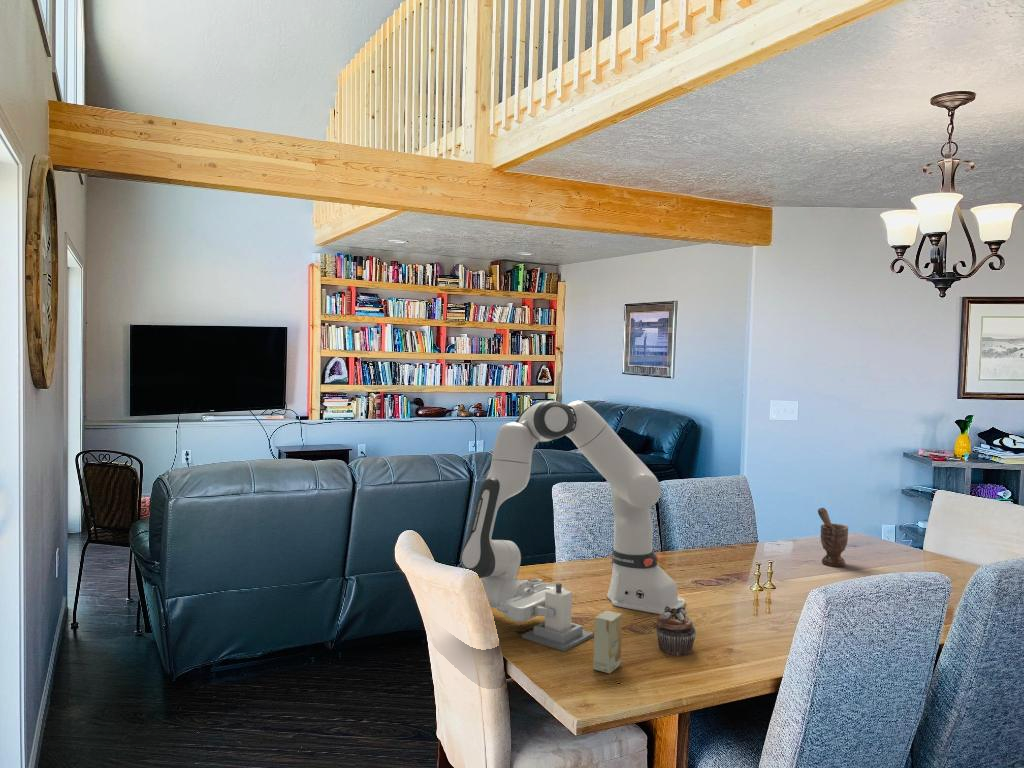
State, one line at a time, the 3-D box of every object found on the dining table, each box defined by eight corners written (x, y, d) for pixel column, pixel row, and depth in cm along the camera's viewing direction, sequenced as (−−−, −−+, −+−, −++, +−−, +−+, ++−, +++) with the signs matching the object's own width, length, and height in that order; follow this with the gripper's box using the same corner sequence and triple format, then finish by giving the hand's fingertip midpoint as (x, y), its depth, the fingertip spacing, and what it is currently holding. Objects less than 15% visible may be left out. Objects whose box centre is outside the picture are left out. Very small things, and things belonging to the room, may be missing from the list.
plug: (571, 630, 194) (572, 584, 193) (560, 635, 191) (561, 588, 190) (555, 625, 197) (556, 579, 197) (544, 630, 194) (545, 584, 193)
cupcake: (658, 656, 183) (659, 615, 183) (653, 640, 193) (654, 601, 192) (699, 657, 183) (700, 616, 182) (691, 641, 192) (692, 602, 192)
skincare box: (609, 674, 173) (611, 621, 172) (592, 669, 175) (593, 617, 174) (621, 664, 178) (622, 612, 178) (604, 660, 181) (605, 609, 180)
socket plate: (593, 636, 195) (594, 625, 195) (564, 651, 185) (564, 640, 185) (552, 623, 203) (552, 612, 203) (522, 637, 193) (522, 626, 193)
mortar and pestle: (838, 571, 253) (840, 511, 251) (812, 566, 258) (814, 507, 257) (850, 564, 261) (852, 506, 260) (824, 558, 267) (826, 502, 266)
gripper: (492, 595, 194) (536, 608, 185) (541, 576, 209) (584, 588, 201) (492, 620, 194) (535, 634, 185) (541, 599, 210) (583, 611, 201)
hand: (561, 610), depth 193 cm, fingers closed on plug, 4 cm apart
